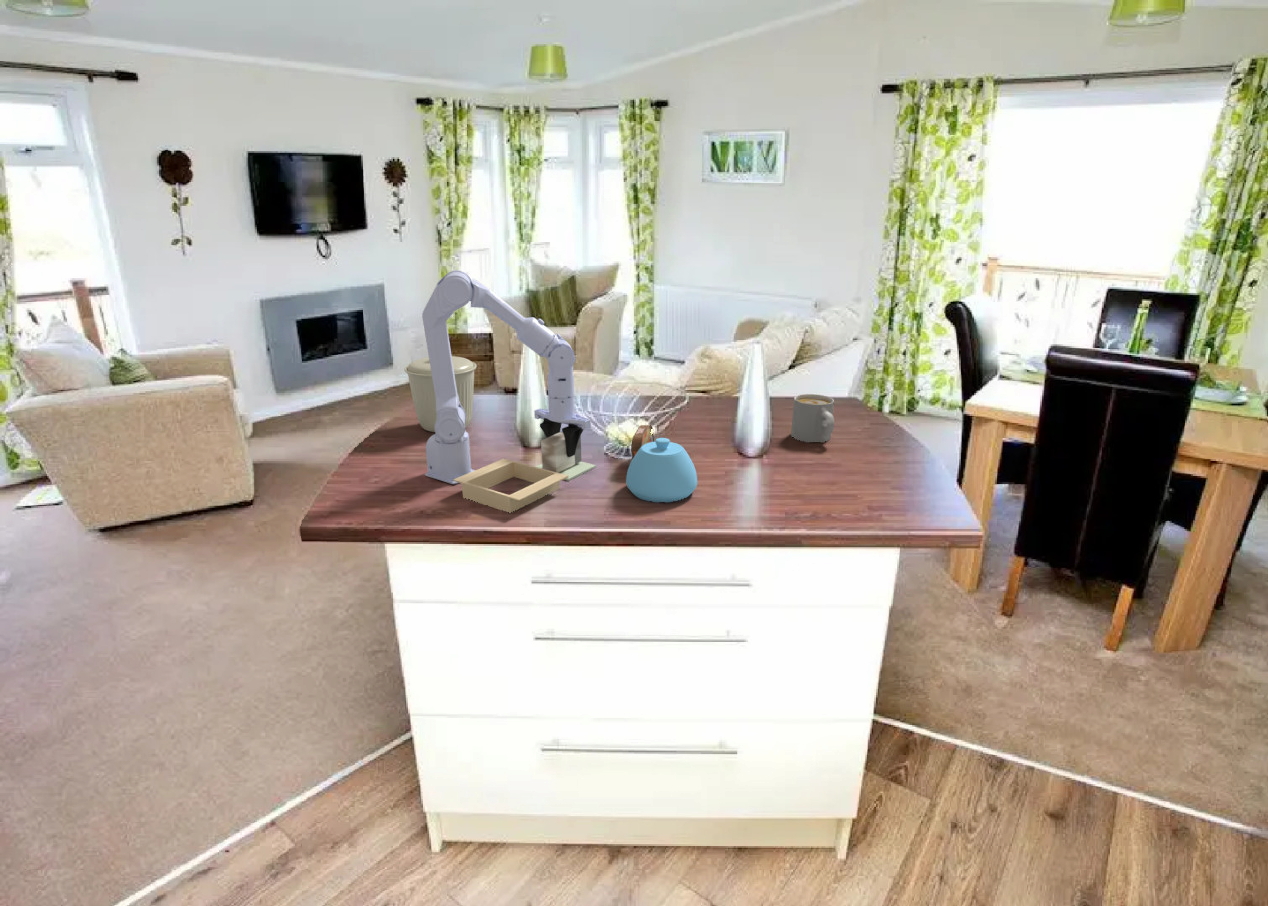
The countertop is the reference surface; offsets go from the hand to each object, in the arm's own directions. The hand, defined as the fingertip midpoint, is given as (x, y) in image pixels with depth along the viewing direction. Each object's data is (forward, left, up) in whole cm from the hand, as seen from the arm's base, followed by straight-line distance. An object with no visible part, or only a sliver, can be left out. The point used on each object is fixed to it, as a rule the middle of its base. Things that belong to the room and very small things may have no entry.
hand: (563, 453), depth 166 cm
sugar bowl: (+25, +2, -4) cm, 25 cm away
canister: (-45, +6, -4) cm, 46 cm away
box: (0, 0, -3) cm, 3 cm away
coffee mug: (+39, +53, -4) cm, 66 cm away
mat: (0, 0, -4) cm, 4 cm away
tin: (+13, +13, -4) cm, 19 cm away
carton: (0, -17, -4) cm, 17 cm away
